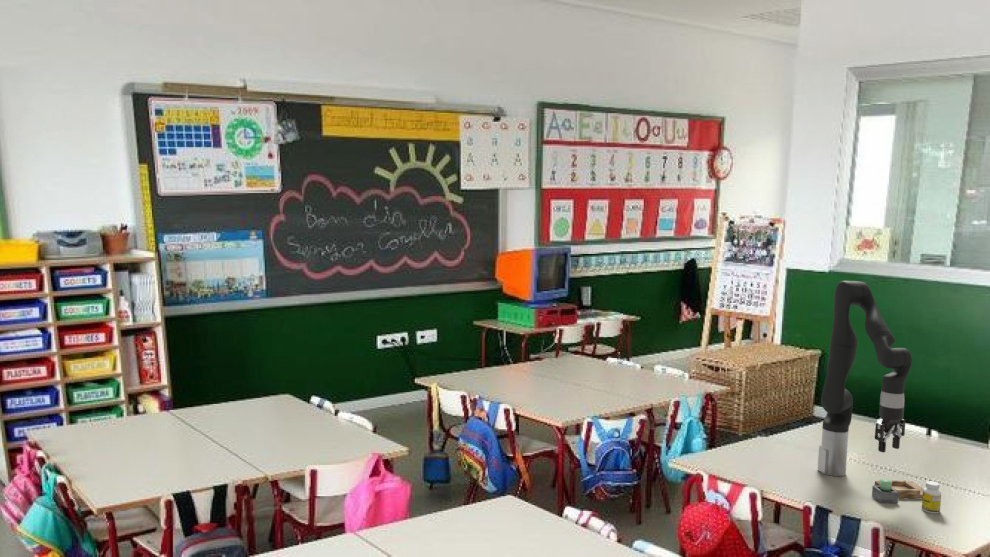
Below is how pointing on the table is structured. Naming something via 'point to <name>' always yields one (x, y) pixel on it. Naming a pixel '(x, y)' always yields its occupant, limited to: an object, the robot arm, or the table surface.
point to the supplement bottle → (931, 498)
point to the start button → (885, 484)
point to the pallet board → (906, 489)
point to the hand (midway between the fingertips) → (888, 450)
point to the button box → (885, 495)
